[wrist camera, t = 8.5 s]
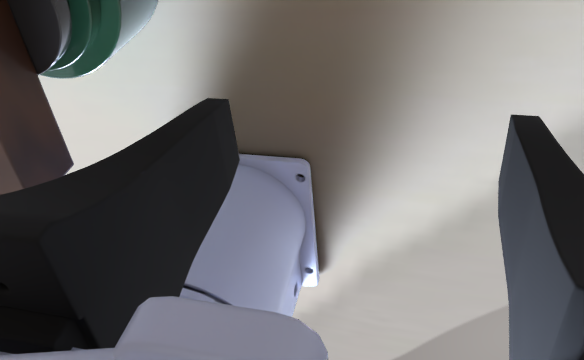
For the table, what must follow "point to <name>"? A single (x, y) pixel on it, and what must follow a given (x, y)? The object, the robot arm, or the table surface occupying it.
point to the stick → (25, 117)
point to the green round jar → (77, 32)
